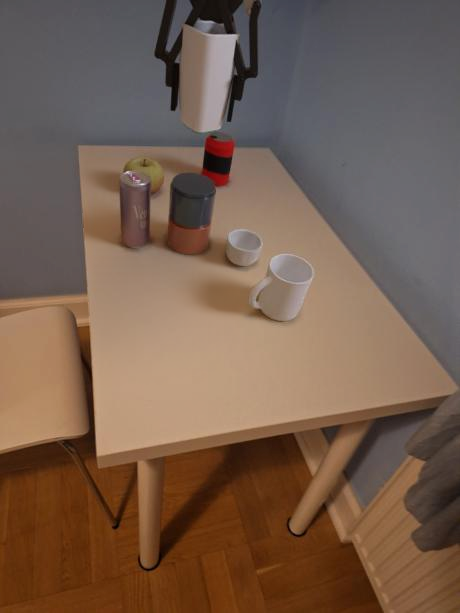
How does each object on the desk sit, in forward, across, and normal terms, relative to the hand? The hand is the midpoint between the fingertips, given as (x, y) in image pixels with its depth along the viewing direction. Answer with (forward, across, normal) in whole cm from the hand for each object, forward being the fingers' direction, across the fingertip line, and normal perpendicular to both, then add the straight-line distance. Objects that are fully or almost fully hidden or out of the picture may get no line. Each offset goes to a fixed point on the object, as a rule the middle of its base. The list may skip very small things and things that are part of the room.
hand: (201, 113), depth 69 cm
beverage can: (+29, -11, -1) cm, 31 cm away
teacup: (+29, +12, 0) cm, 31 cm away
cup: (+3, 0, 0) cm, 3 cm away
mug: (+29, +19, -15) cm, 38 cm away
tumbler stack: (+29, 0, +2) cm, 29 cm away
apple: (+29, -14, +20) cm, 38 cm away
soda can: (+29, +3, +32) cm, 43 cm away
